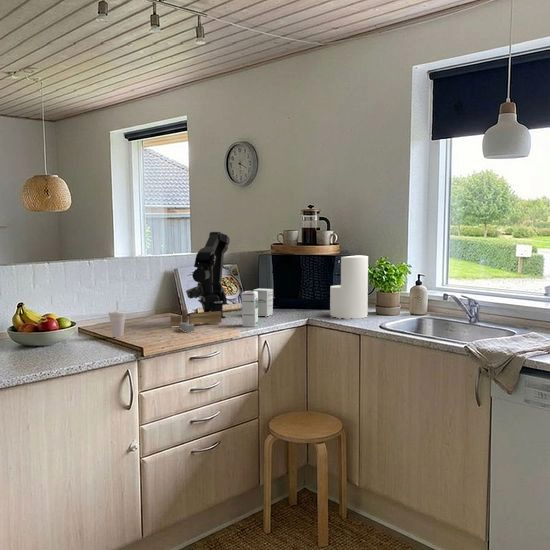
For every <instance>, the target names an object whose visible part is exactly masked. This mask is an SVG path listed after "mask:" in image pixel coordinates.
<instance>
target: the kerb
mask: <svg viewBox="0 0 550 550" xmlns="http://www.w3.org/2000/svg"><path fill="white" fill-rule="evenodd" d="M179 328H181V329H182V330H184V331H186V332H191V331H194V332H195V325H192V324H190V323H189V322H188V323H187V322H182V321H181V323H179ZM179 328H178V329H179ZM184 331H183V332H184ZM186 332H185V333H186Z"/></svg>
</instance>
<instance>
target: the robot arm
mask: <svg viewBox="0 0 550 550" xmlns="http://www.w3.org/2000/svg"><path fill="white" fill-rule="evenodd" d="M229 246H230V237H229V236H228V235H227V234H226V233H225V234H224V233H222V232H220V231H211V232H209V236H208V239H207V241H206V242H205V245H204V246H203V247H202V248H200V249H199V250H198V252H197V253H196V255H195V260H194V265H193V267H194V268H196V269H194V271H193V272H192V279H193V280H194V281H195V283H197V286H194V287H191V288H188V289H187V290H185V293H186V295H187V298H189V299H190V300H191V299H197V301H198V302H199V303H200V304H201V306H202V310H203V311H202V312H216V311H221V319H224V318H226V316H225V315H224V314H223V313H224V311H223V310H224V308H223V305H224V306H225V305H227V304H228V303H227V302H228V301H227V296H226V295H227V294H226V292H225V288H224V286H223V285H222V279H223V268H224V267H223V266H224V256H225V254H226V252H227V250H228V249H229ZM198 298H199V299H198Z"/></svg>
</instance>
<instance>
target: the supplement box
mask: <svg viewBox="0 0 550 550" xmlns="http://www.w3.org/2000/svg"><path fill="white" fill-rule="evenodd" d="M252 291H258V316H265V317H264V318H268V317H267V316H269V315H272V314H273V313H274V310H273V308H274V306H273V305H274V289H273V288H256V289H253V290H252ZM272 316H273V315H272ZM269 317H270V316H269Z"/></svg>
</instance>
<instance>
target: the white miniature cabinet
mask: <svg viewBox="0 0 550 550" xmlns="http://www.w3.org/2000/svg"><path fill="white" fill-rule="evenodd" d="M241 315H242V317H241V320H242V321H241V322H242V327H243V328H244V327H247V328H255V327H257V326H258V325H259V317H258V291H253V290H245V291H243V292H241Z"/></svg>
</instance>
